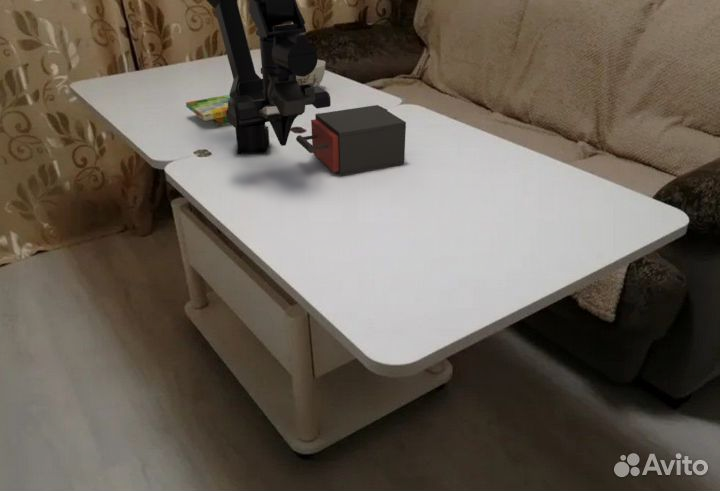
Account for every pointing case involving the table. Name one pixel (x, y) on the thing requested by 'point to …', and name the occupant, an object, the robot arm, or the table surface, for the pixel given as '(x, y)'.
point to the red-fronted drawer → (322, 144)
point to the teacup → (313, 75)
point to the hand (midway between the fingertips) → (282, 145)
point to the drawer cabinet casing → (366, 138)
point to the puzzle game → (211, 109)
